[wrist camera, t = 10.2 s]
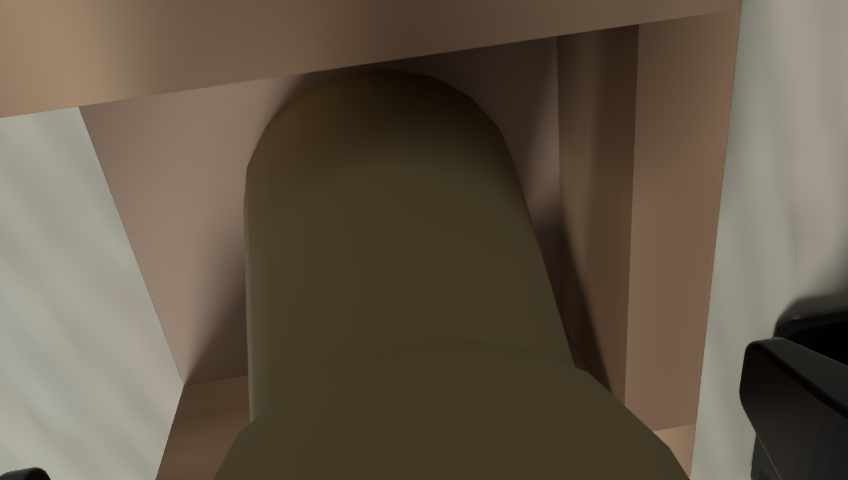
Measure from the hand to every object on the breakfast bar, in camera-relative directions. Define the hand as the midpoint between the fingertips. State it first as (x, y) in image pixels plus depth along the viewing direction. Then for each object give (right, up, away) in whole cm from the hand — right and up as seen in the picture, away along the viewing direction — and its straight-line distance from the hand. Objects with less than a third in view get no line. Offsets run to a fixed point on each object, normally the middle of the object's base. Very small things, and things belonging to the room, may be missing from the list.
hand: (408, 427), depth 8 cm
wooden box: (-1, +4, +7) cm, 8 cm away
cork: (-1, +3, +6) cm, 7 cm away
